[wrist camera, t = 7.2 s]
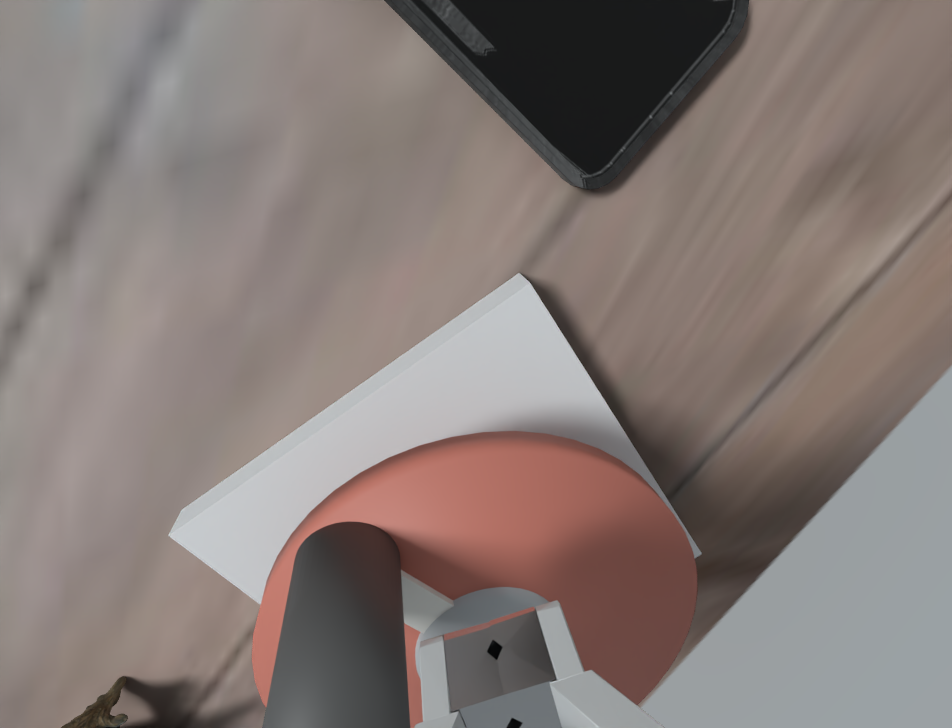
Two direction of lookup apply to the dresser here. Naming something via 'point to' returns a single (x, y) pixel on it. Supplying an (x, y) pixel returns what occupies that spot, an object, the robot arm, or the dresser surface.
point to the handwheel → (468, 574)
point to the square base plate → (409, 427)
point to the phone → (579, 68)
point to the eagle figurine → (101, 711)
